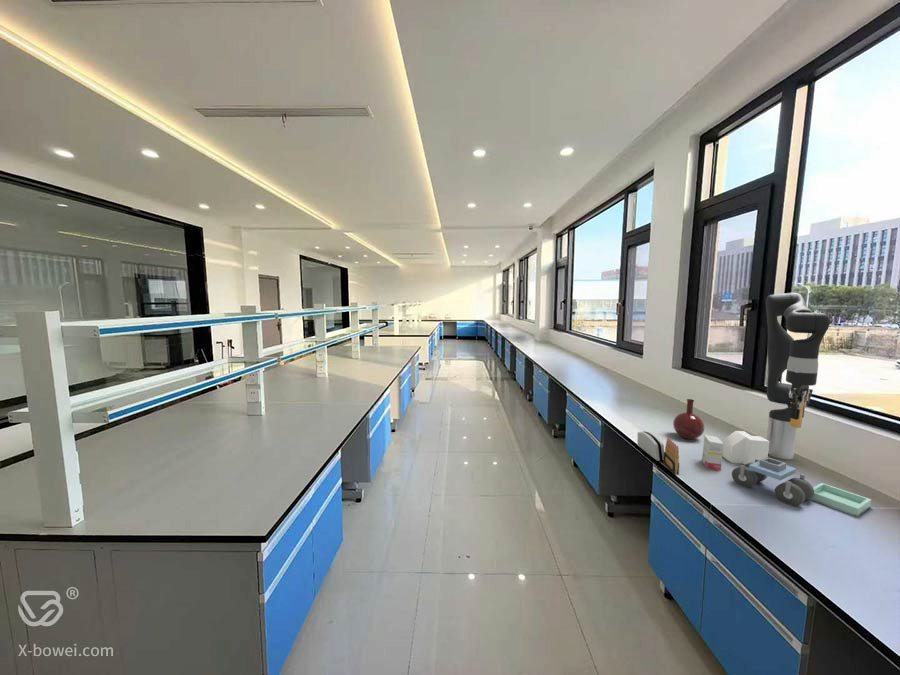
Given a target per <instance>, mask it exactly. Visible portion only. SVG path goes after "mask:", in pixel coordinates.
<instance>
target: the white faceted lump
mask: <svg viewBox="0 0 900 675" xmlns="http://www.w3.org/2000/svg"><path fill="white" fill-rule="evenodd" d="M722 443H723V452H722V458H724V459H726V460H727V461H728V462H730V463H733V464H742V465H743V464H744V465H745V464H748V463H755V459H758V460H759V461H760V460H761V459H763V458H766V457H769V455H768V451H769V441H768V440H767V438H764V437H762V436H761V435H760V436H757V435H751V434H749V433H748V432H746V431H744V430H743V431H741V430H734V431H733V432H732V433H731V434H729V435H727V436H726V437H724V438H723V439H722Z"/></svg>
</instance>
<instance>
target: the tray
mask: <svg viewBox="0 0 900 675" xmlns="http://www.w3.org/2000/svg"><path fill="white" fill-rule="evenodd" d="M812 487H813V489H814V495H813V496H812V497H811V498H809V499H808V500H811V501H813V502H816V503H819V504H822V505H824V506H826V507H829V508H831V509H835V510H837V511H840V512H843V513H846V514H847V515H850V516H854V517H856V518H858V517H860V516H861V515H863V514H864V512H866V511H867V510H869V509H870V508H871V504H872V499H871V498H868V497H865V496H862V495H859V494H856V493H853V492H850V491H847V490H845V489H841V488H839V487H835V486H833V485H829V484H827V483H824V482H823V483H822V482H821V483H818V484H817V485H815V486H812Z"/></svg>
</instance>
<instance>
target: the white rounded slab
mask: <svg viewBox="0 0 900 675" xmlns="http://www.w3.org/2000/svg"><path fill="white" fill-rule="evenodd" d="M636 444H637V446H638V447H639V448H640V449H642V450H643V451H644V452H645V453H647V454H648V455H649V456H650V457H652V458H653V459H654V460H656V461H657V462H658V461H660V460H662V461H664V452H665V445H664V443H663V442H662V441H661V439H660V438H659V437H658V436H657V435H655V434H654V433H653V432H650V431H646V430H645V431H639V432H637V443H636Z"/></svg>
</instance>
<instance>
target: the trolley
mask: <svg viewBox="0 0 900 675" xmlns="http://www.w3.org/2000/svg"><path fill="white" fill-rule="evenodd" d="M787 464H788V463H787V462H784V461H781V460H779V459H775V458H773V457H772V458H771V457H769V456H768V457H766V458H763V459H761V460H760V461H759V460H758V459H755V463H748V464H744V465H743V464H741V465H740V466H739V467H735V468H734V469H733V470H732V471H731V477H732V480H733V481H734V483H735V484H737V485H738V486H741V487H744V488H750V487H753V486H755V485H757V484H759V483H761V482H764V481H765V480H766V479H767V478H768V477H770V478H773V479H775V480H778V481H782V480H784V479H787V478H788V477H790V476H792V475H794V474H796V473H797V467H796V468H795V467H793V466H789V465H787ZM805 478H806V475H805V474H804V473H801V474H800V475H799V477H792V478H790V479H788V480H786V481H783V482H782V483H779V484H778V485H777V486H775V488H774V494H775V496H776V498H777V499H778V500H779V501H780V502H782V503H784V504H787V505H789V506H791V507H796V506H798V505H801V504H802V503H804V502H805V501H807V500H810V499H809V498H811V497H812V496H813V495H814V489H813V487H814V486H812V484H811V483H810V482H809V481H807V480H805Z"/></svg>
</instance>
